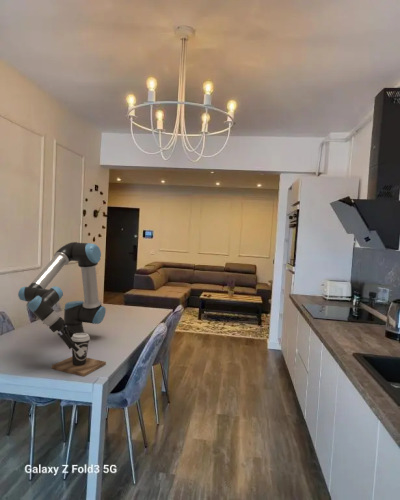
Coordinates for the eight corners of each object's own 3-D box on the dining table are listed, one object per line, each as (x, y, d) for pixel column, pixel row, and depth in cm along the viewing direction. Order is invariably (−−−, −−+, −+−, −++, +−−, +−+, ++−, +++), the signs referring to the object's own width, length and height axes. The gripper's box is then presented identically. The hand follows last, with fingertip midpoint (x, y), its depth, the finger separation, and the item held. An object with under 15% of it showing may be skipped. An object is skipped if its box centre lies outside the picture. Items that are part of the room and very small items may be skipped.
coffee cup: (91, 360, 189) (92, 333, 188) (85, 367, 179) (87, 338, 178) (73, 359, 188) (74, 331, 188) (66, 366, 179) (68, 337, 178)
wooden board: (51, 368, 178) (51, 365, 178) (75, 357, 195) (75, 355, 195) (83, 376, 171) (84, 373, 171) (105, 364, 188) (105, 361, 188)
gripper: (51, 320, 190) (79, 347, 195) (44, 333, 166) (75, 364, 171) (62, 310, 191) (89, 337, 196) (56, 322, 167) (87, 353, 172)
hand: (83, 350), depth 183 cm, fingers open, 13 cm apart
